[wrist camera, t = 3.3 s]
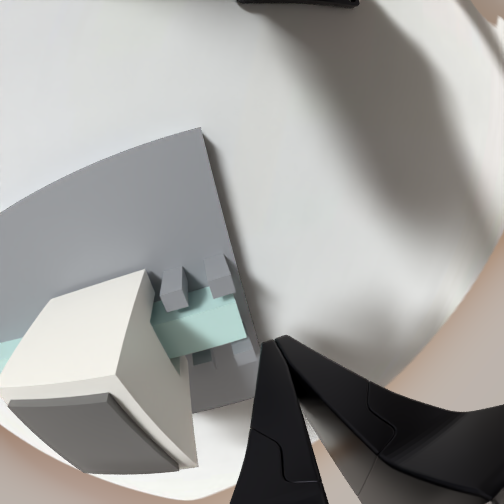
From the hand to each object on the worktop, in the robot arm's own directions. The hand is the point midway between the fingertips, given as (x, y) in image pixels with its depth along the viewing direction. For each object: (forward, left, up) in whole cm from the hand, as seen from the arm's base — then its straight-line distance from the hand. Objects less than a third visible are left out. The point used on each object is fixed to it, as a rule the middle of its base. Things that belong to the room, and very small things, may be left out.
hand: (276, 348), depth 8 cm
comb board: (+10, 0, -5) cm, 11 cm away
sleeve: (+6, 0, -4) cm, 7 cm away
